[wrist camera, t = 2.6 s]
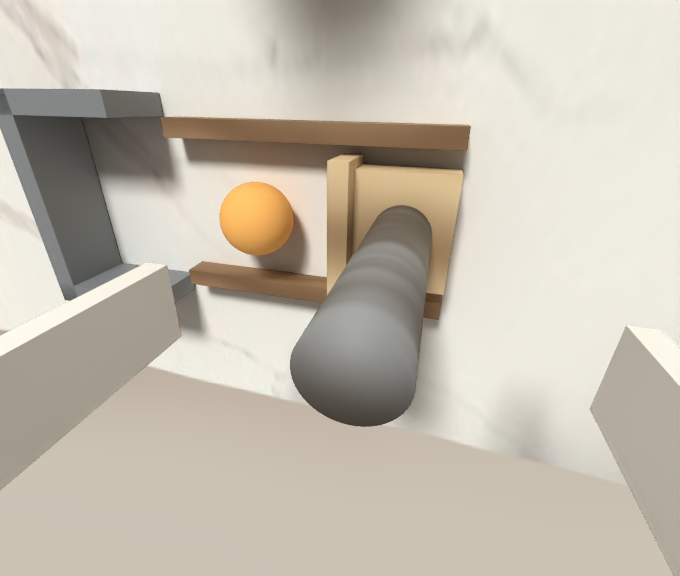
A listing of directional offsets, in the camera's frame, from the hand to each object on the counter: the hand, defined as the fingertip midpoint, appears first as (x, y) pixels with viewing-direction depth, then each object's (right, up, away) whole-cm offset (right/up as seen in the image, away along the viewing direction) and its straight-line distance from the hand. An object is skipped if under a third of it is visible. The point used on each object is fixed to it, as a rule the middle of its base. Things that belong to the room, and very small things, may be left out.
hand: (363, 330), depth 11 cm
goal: (-14, +7, +13) cm, 20 cm away
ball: (-5, +5, +9) cm, 12 cm away
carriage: (+3, +5, +9) cm, 11 cm away
